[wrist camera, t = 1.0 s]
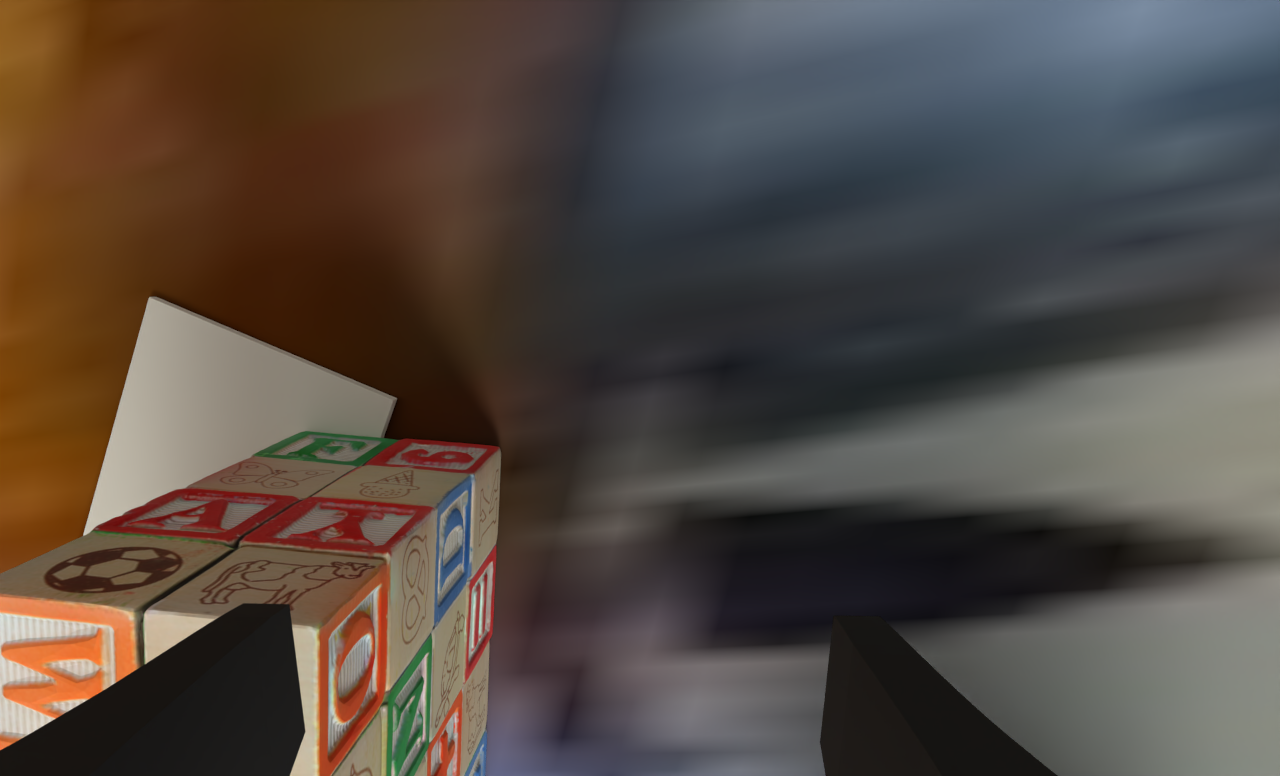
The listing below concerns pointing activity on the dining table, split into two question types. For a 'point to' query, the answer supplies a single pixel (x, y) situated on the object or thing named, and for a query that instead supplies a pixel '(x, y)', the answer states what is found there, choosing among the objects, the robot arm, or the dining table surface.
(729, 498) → the dining table surface
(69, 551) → the stack of blocks
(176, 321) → the mat
